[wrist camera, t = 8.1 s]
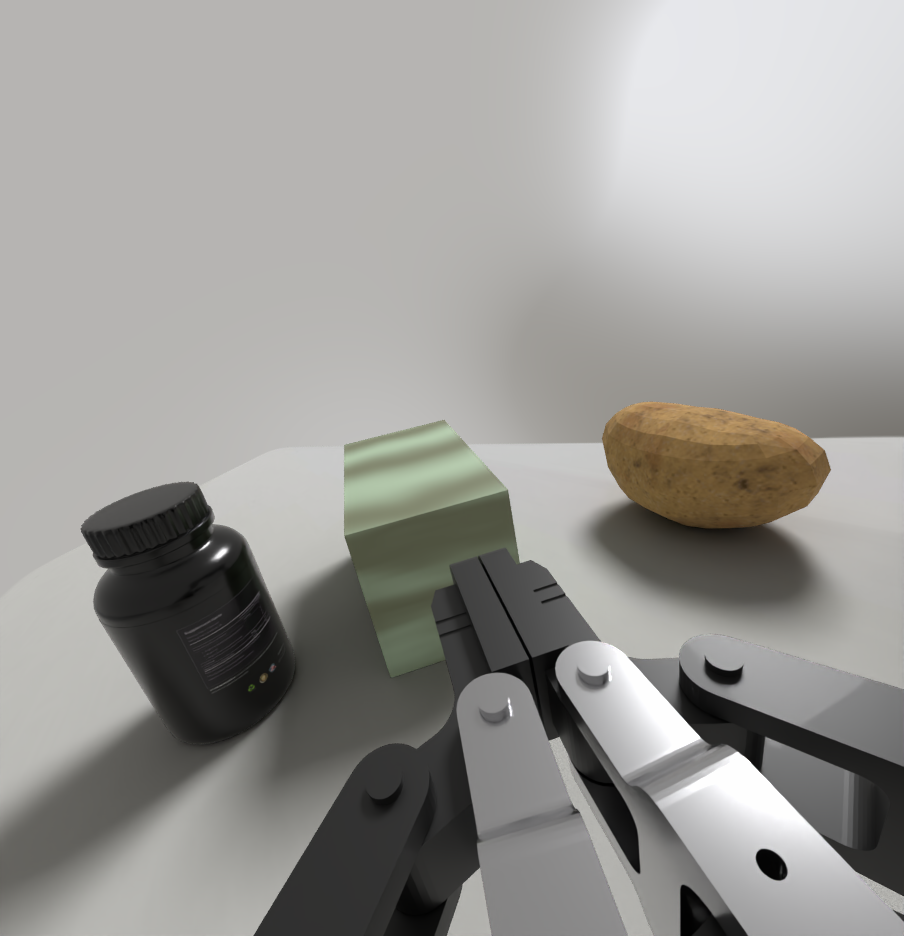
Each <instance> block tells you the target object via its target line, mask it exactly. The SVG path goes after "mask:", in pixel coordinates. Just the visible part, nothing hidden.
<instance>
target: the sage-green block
mask: <svg viewBox="0 0 904 936" xmlns="http://www.w3.org/2000/svg"><path fill="white" fill-rule="evenodd" d="M344 536H345V539H346V542H347V546H348V549H349V552H350V555H351V558H352V561H353V564H354V567H355V570H356V573H357V576H358V579H359V582H360V585H361V588H362V591H363V595H364V598H365V601H366V604H367V607H368V610H369V613H370V616H371V619H372V622H373V625H374V628H375V631H376V634H377V637H378V640H379V644H380V647H381V650H382V653H383V656H384V659H385V662H386V665H387V668H388V671H389V674H390V677H391V678H392V677H395V676H398V675H401V674H405V673H408V672H411V671H414V670H417V669H420V668H423V667H426V666H429V665H432V664H435V663H438V662H441V661H444V660H446V659H445V656H444V652H443V648H442V645H441V641H440V638H439V634H438V630H437V627H436V623H435V619H434V616H433V612H432V609H431V604H432V601H433V597H434V593H435V590H438V589H441V588H444V587H448V586H451V585H454V583H453V579H452V575H451V571H450V567H449V565H450V564H453V563H456V562H459V561H463V560H466V559H469V558H472V557H477V558H478V555H482V554H485V553H488V552H491V551H495V550H498V549H501V548H504V547H505V548H506V549H507V550H508V552H509V553H510V555H511V556H512V558H513V559H514V561H515V562H516V564H520V562H519V556H518V549H517V543H516V537H515V531H514V525H513V518H512V512H511V506H510V500H509V494H508V489H507V488H506V487H505V486H504V485H503V484H502V483H501V482H500V481H499V480H498V478H497V477H496V476H495V475H494V474H493V473H492V472H491V471H490V470H489V469H488V467H487V466H486V465H485V464H484V463H483V462H482V461H481V460H480V459H479V458H478V456H477V455H476V454H475V453H474V452H473V451H472V450H471V449H470V448H469V447H468V446H467V444H466V443H465V442H464V441H463V440H462V439H461V438H460V437H459V436H458V435H457V433H456V432H455V431H454V430H453V429H452V428H451V427H450V426H449V425H448V424H447V423H446V422H445V420H442V421H438V422H434V423H430V424H426V425H422V426H418V427H414V428H410V429H406V430H403V431H398V432H394V433H390V434H387V435H382V436H378V437H374V438H370V439H367V440H362V441H358V442H354V443H350V444H346V445H344Z"/></svg>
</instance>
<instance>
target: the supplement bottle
mask: <svg viewBox="0 0 904 936" xmlns="http://www.w3.org/2000/svg"><path fill="white" fill-rule="evenodd" d="M214 519H215V516H214V513H213V511H212V508H211V507H210V506H209V505H207V502H206V500H205V498H204V496H203V493H202V491H201V489H200V488H199V486H198V485H197V484H194V482H179V483H172V484H166V485H162V486H158V487H154V488H151V489H148V490H144V491H141V492H138V493H135V494H133V495H130V496H128V497H125V498H123V499H121V500H118V501H116V502H114V503H112V504H111V505H108V506H106V507H104V508H103V509H101V510H99V511H97V512H96V513H95V514H93V515H91V516H90V517H89V518H88V519H87V520H86V521H84V523H83V525H82V528H81V532H82V534H83V536H84V538H85V539H86V541H87V543H88V545H89V546H90V548H91V550H92V551H93V557H94V559H95V560H96V562H97V564H98V565H99V566H100V567H102V568H108V570H107V571H106V572H105V574H104V575H103V576H102V578H101V579H100V581H99V583H98V585H97V587H96V589H95V593H94V600H93V604H94V610H95V612H96V614H97V616H98V618H99V620H100V622H101V624H102V625H103V627H104V628H105V630H106V632H107V633H108V635H109V636H110V638H111V640H112V641H113V643H114V645H115V646H116V648H117V649H118V651H119V653H120V654H121V656H122V657H123V659H124V661H125V662H126V664H127V665H128V667H129V669H130V670H131V672H132V673H133V675H134V677H135V678H136V680H137V682H138V683H139V685H140V686H141V688H142V690H143V691H144V693H145V694H146V696H147V698H148V699H149V701H150V702H151V704H152V706H153V707H154V709H155V710H156V712H157V714H158V715H159V717H160V718H161V720H162V721H163V723H164V724H165V726H166V727H167V729H168V730H169V731H170V733H171V734H172V735H173V736H174V737H175V738H177V739H179V740H180V741H183V742H185V743H190V744H209V743H214V742H218V741H222V740H225V739H227V738H230V737H232V736H235V735H237V734H239V733H241V732H243V731H244V730H246V729H248V728H249V727H251V726H252V725H254V724H255V723H257V722H258V721H259V720H261V719H262V718H263V717H264V716H265V715H266V714H268V713H269V712H270V711H271V710H272V709H273V708H274V706H275V705H276V704H277V703H278V702H279V701H280V699H281V698H282V697H283V695H284V694H285V692H286V691H287V689H288V687H289V685H290V683H291V681H292V678H293V675H294V671H295V655H294V652H293V649H292V646H291V644H290V641H289V639H288V636H287V634H286V632H285V629H284V627H283V625H282V622H281V620H280V617H279V615H278V613H277V610H276V608H275V606H274V603H273V601H272V598H271V596H270V594H269V591H268V589H267V587H266V584H265V582H264V579H263V577H262V575H261V572H260V570H259V568H258V565H257V563H256V560H255V558H254V556H253V553H252V551H251V549H250V546H249V544H248V542H247V540H246V539H245V538H244V536H243V535H241V534H240V533H239V532H237V531H236V530H234V529H232V528H230V527H227V526H223V525H216V524H212V523H213V521H214Z"/></svg>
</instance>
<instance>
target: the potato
mask: <svg viewBox="0 0 904 936" xmlns="http://www.w3.org/2000/svg"><path fill="white" fill-rule="evenodd" d="M602 440H603V445H604V450H605V455H606V459H607V464H608V468H609V469H610V471H611V473H612V475H613V476H614V478H615V480H616V481H617V483H618V485H619V487H620V488H621V489H622V490H623V492H624V493H625V494H626V495H627V496H628V497H629V498H630V499H631V500H633V501H635V502H636V503H638V504H640V505H641V506H643V507H645V508H647V509H649V510H651V511H653V512H655V513H657V514H659V515H661V516H663V517H666V518H668V519H670V520H673V521H675V522H678V523H680V524H682V525H685V526H692V527H700V528H739V527H753V526H757V525H761V524H765V523H769V522H772V521H774V520H776V519H779V518H781V517H783V516H786V515H788V514H790V513H793V512H795V511H797V510H799V509H802V508H804V507H806V506H808V504H809V503H810V502H811V501H812V500H813V498H814V497H815V496H816V495H817V494H818V492H819V490H820V489H821V487H822V485H823V483H824V481H825V480H826V478H827V476H828V474H829V472H830V471H831V469H830V465H829V462H828V459H827V456H826V453H825V450H824V449H822V448H821V447H820V446H819V445H818V444H816V443H815V442H814V441H813V440H812V439H811V438H809V437H808V436H806V435H805V434H803V433H801V432H800V431H798V430H797V429H795V428H792V427H789V426H787V425H785V424H782V423H779V422H774V421H769V420H764V419H760V418H755V417H751V416H747V415H743V414H739V413H735V412H730V411H726V410H722V409H716V408H704V407H694V406H688V405H680V404H674V403H661V402H642V403H637V404H633V405H630V406H628V407H626V408H624V409H622V410H621V411H619V412H618V413H616V414H615V415H614V416H613V417H612V418H611V419H610V420H609V422H608V423H607V424H606V426H605V430H604V433H603V437H602Z"/></svg>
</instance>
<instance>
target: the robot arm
mask: <svg viewBox="0 0 904 936" xmlns="http://www.w3.org/2000/svg"><path fill="white" fill-rule="evenodd" d="M449 567H450V571H451V575H452V579H453V583H454V585H451V586H448V587H444V588H441V589H438V590H435V593H434V597H433V601H432V604H431V609H432V612H433V616H434V619H435V623H436V627H437V630H438V634H439V638H440V641H441V645H442V648H443V652H444V656H445V659H446V663H447V667H448V670H449V674H450V677H451V681H452V685H453V688H454V694H455V702H454V707H453V710H452V713H451V715H450V717H449V719H448V721H447V722H446V724H445V725H444V727H443V728H442V729H441V730H440V731H439V732H438V733H437V734H436V735H434V736H433V737H432V738H431V739H429V740H428V741H427V742H425V743H424V744H423V745H421V746H420V747H419V748H417V749H415V748H413V747H411V746H409V745H405V744H396V743H395V744H388V745H385V746H382V747H380V748H378V749H376V750H374V751H373V752H371V753H369V754H368V755H367V756H366V757H365V758H364V759H362V761H361V762H360V763H359V764H358V765H357V766H356V768H355V769H354V771H353V772H352V774H351V775H350V777H349V779H348V780H347V782H346V784H345V785H344V787H343V789H342V790H341V792H340V794H339V795H338V797H337V799H336V800H335V802H334V804H333V805H332V807H331V809H330V810H329V812H328V813H327V815H326V817H325V818H324V820H323V822H322V823H321V825H320V827H319V828H318V830H317V832H316V833H315V835H314V837H313V838H312V840H311V842H310V843H309V845H308V847H307V848H306V850H305V851H304V853H303V855H302V856H301V858H300V860H299V861H298V863H297V865H296V866H295V868H294V870H293V871H292V873H291V875H290V876H289V878H288V880H287V881H286V883H285V885H284V886H283V888H282V890H281V891H280V893H279V894H278V896H277V898H276V899H275V901H274V903H273V904H272V906H271V908H270V909H269V911H268V913H267V914H266V916H265V918H264V919H263V921H262V923H261V924H260V926H259V928H258V929H257V931H256V933H255V934H254V936H447V933H448V930H449V927H450V924H451V921H452V918H453V915H454V912H455V909H456V906H457V903H458V900H459V897H460V894H461V890H462V884H463V883H464V882H465V881H466V880H467V879H468V878H469V877H470V876H471V875H472V874H473V873H474V872H475V871H477V870H478V869H479V868H480V869H481V875H482V881H483V887H484V892H485V898H486V904H487V910H488V916H489V922H490V928H491V933H492V936H628V935H627V932H626V929H625V927H624V924H623V922H622V919H621V916H620V914H619V911H618V908H617V906H616V903H615V901H614V898H613V895H612V893H611V890H610V887H609V885H608V882H607V880H606V877H605V874H604V872H603V869H602V866H601V864H600V861H599V859H598V856H597V853H596V851H595V848H594V845H593V843H592V840H591V838H590V835H589V833H588V830H587V828H586V825H585V823H584V821H583V818H582V816H581V814H580V812H579V811H578V810H577V809H575V808H574V806H573V804H572V802H571V800H570V797H569V795H568V792H567V789H566V786H565V784H564V781H563V778H562V776H561V773H560V770H559V768H558V765H557V762H556V759H555V757H554V754H553V751H552V749H551V746H550V743H549V740H552V739H555V738H557V737H560V739H561V741H562V743H563V745H564V747H565V749H566V751H567V753H568V757H569V763H570V769H571V773H572V775H573V777H574V779H575V781H576V783H577V785H578V787H579V788H580V790H581V792H582V794H583V796H584V797H585V799H586V801H587V803H588V804H589V806H590V808H591V810H592V812H593V813H594V815H595V817H596V819H597V821H598V822H599V824H600V826H601V828H602V829H603V831H604V833H605V835H606V837H607V838H608V840H609V842H610V844H611V846H612V847H613V849H614V851H615V853H616V854H617V856H618V858H619V860H620V862H621V863H622V865H623V867H624V869H625V870H626V872H627V874H628V876H629V878H630V880H631V882H632V884H633V886H634V888H635V890H636V892H637V894H638V897H639V899H640V902H641V905H642V908H643V911H644V914H645V916H646V919H647V921H648V924H649V926H650V928H651V931H652V933H653V935H654V936H904V915H903V914H901V913H899V912H896V911H894V910H892V909H891V908H890V907H889V906H888V905H887V904H886V903H885V902H884V901H883V900H882V899H881V898H880V897H879V896H878V895H877V894H876V893H875V892H874V891H873V889H872V888H871V887H870V886H869V885H868V884H867V883H866V882H865V881H864V880H863V879H862V878H861V877H860V876H859V875H858V874H857V873H856V872H858V873H860V874H862V875H863V876H865V877H867V878H869V879H871V880H873V881H875V882H877V883H879V884H881V885H883V886H885V887H887V888H889V889H891V890H893V891H895V892H897V893H898V894H900V895H902V896H904V689H900V688H897V687H894V686H891V685H887V684H884V683H881V682H877V681H874V680H871V679H868V678H864V677H861V676H858V675H854V674H851V673H848V672H844V671H841V670H838V669H835V668H831V667H828V666H825V665H821V664H818V663H815V662H812V661H808V660H805V659H802V658H798V657H795V656H792V655H788V654H785V653H782V652H779V651H775V650H772V649H769V648H765V647H762V646H759V645H756V644H752V643H749V642H746V641H742V640H739V639H736V638H733V637H729V636H725V635H718V634H705V635H699V636H696V637H693V638H691V639H689V640H688V641H686V642H685V643H684V644H683V646H682V648H681V649H680V653H679V658H664V659H636V658H631V657H627V656H626V655H625V654H624V653H623V652H622V651H620V650H619V649H617V648H616V647H614V646H612V645H610V644H607V643H604V642H601V641H600V640H599V638H598V637H597V636H596V634H595V633H594V632H593V630H592V629H591V628H590V626H589V625H588V624H587V622H586V621H585V620H584V618H583V617H582V616H581V614H580V613H579V611H578V610H577V609H576V607H575V606H574V605H573V603H572V602H571V601H570V599H569V598H568V597H566V595H565V593H564V591H563V590H562V589H561V587H560V586H559V585H558V584H557V582H556V580H555V579H554V578H553V576H552V575H551V574H550V572H549V571H548V570H547V569H546V568H544V567H542V566H541V565H539V564H537V563H535V562H533V561H532V560H530V561H526V562H523V563H520V564H516V562H515V561H514V559H513V558H512V556H511V555H510V553H509V552H508V550H507V549H506V548H505V547H504V548H501V549H498V550H495V551H491V552H488V553H485V554H482V555H478V558H477V557H472V558H469V559H466V560H463V561H459V562H456V563H453V564H450V565H449ZM855 871H856V872H855Z"/></svg>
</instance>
